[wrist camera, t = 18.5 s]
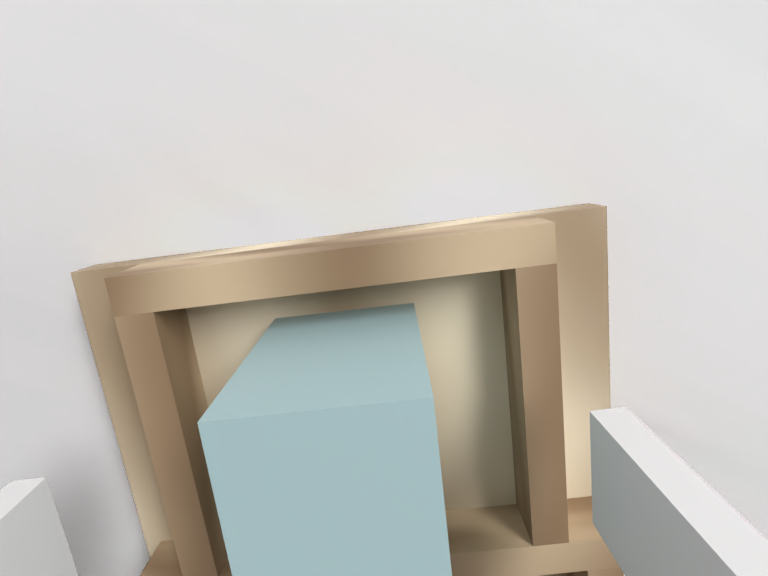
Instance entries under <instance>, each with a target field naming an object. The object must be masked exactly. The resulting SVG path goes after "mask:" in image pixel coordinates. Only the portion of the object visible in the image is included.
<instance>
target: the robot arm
mask: <svg viewBox="0 0 768 576" xmlns="http://www.w3.org/2000/svg"><path fill="white" fill-rule="evenodd" d="M590 446H591V482H592V518H593V524H594V526H595V528H596V529H597V531H598V532H599V534H600V536H601V537H602V539H603V541H604V542H605V544H606V545H607V547H608V549H609V550H610V552H611V553H612V555H613V557H614V558H615V560H616V562H617V563H618V565H619V566H620V568H621V570H622V571H623V573H624V575H625V576H768V540H767V539H766V538H765V537H764V536H763V535H762V534H761V533H760V532H759V531H758V530H757V529H756V528H755V527H753V526H752V525H751V524H750V523H749V522H748V521H747V520H746V519H745V518H744V517H743V516H742V515H741V514H740V513H739V512H738V511H736V510H735V509H734V508H733V507H732V506H731V505H730V504H729V503H728V502H727V501H726V500H725V499H724V498H723V497H722V496H721V495H719V494H718V493H717V492H716V491H715V490H714V489H713V488H712V487H711V486H710V485H709V484H708V483H707V482H706V481H705V480H704V479H702V478H701V477H700V476H699V475H698V474H697V473H696V472H695V471H694V470H693V469H692V468H691V467H690V466H689V465H688V464H687V463H685V462H684V461H683V460H682V459H681V458H680V457H679V456H678V455H677V454H676V453H675V452H674V451H673V450H672V449H671V448H670V447H668V446H667V445H666V444H665V443H664V442H663V441H662V440H661V439H660V438H659V437H658V436H657V435H656V434H655V433H654V432H653V431H651V430H650V429H649V428H648V427H647V426H646V425H645V424H644V423H643V422H642V421H641V420H640V419H639V418H638V417H637V416H635V415H634V414H633V413H632V412H631V411H630V410H629V409H628V408H627V407H618V408H610V409H601V410H593V411H590ZM0 576H78V573H77V569H76V566H75V563H74V560H73V557H72V554H71V551H70V548H69V545H68V542H67V539H66V536H65V533H64V530H63V526H62V523H61V520H60V517H59V514H58V511H57V508H56V505H55V502H54V499H53V496H52V493H51V490H50V487H49V483H48V480H47V477H42V478H34V479H26V480H17V481H11V482H10V483H8V484H7V485H6V486H5V487H4V488H2V489H1V490H0Z"/></svg>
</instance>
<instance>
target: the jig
mask: <svg viewBox="0 0 768 576" xmlns="http://www.w3.org/2000/svg"><path fill="white" fill-rule="evenodd" d="M71 276H72V280H73V283H74V287H75V291H76V294H77V298H78V301H79V305H80V309H81V312H82V316H83V319H84V323H85V326H86V330H87V334H88V337H89V341H90V344H91V348H92V352H93V355H94V359H95V362H96V366H97V369H98V373H99V377H100V380H101V384H102V387H103V391H104V395H105V398H106V402H107V405H108V409H109V412H110V416H111V420H112V423H113V427H114V430H115V434H116V438H117V441H118V445H119V448H120V452H121V455H122V459H123V463H124V466H125V470H126V473H127V477H128V481H129V484H130V488H131V491H132V495H133V498H134V502H135V506H136V509H137V513H138V516H139V520H140V524H141V527H142V531H143V534H144V538H145V541H146V545H147V549H148V552H149V556H150V560H149V562H148V563H147V565H146V567H145V568H144V570H143V572H142V573H141V575H140V576H232V573H231V569H230V564H229V560H228V555H227V551H226V547H225V542H224V538H223V533H222V529H221V525H220V520H219V516H218V512H217V507H216V503H215V498H214V494H213V490H212V485H211V481H210V476H209V472H208V468H207V463H206V459H205V454H204V450H203V446H202V441H201V437H200V433H199V428H198V424H197V422H198V421H199V420H200V418H201V417H202V416H203V414H204V413H205V412H206V410H207V409H208V408H209V406H210V405H211V404H212V402H213V401H214V400H215V398H216V397H217V396H218V394H219V393H220V392H221V390H222V389H223V388H224V386H225V385H226V384H227V382H228V381H229V380H230V378H231V377H232V376H233V374H234V373H235V371H236V370H237V369H238V367H239V366H240V365H241V363H242V362H243V361H244V359H245V358H246V357H247V355H248V354H249V353H250V351H251V350H252V349H253V347H254V346H255V345H256V343H257V342H258V341H259V339H260V338H261V337H262V335H263V334H264V333H265V331H266V330H267V329H268V327H269V326H270V325H271V323H272V322H273V321H274V319H275V318H282V317H291V316H300V315H309V314H318V313H327V312H335V311H344V310H353V309H362V308H371V307H380V306H388V305H397V304H406V303H414V306H415V311H416V316H417V321H418V325H419V330H420V335H421V340H422V344H423V349H424V354H425V359H426V363H427V368H428V373H429V378H430V382H431V387H432V392H433V397H434V406H435V415H436V425H437V435H438V444H439V454H440V464H441V474H442V483H443V493H444V503H445V512H446V522H447V532H448V541H449V551H450V561H451V571H452V576H624V575H623V571H622V570H621V568H620V566H619V565H618V563H617V562H616V560H615V558H614V557H613V555H612V553H611V552H610V550H609V549H608V547H607V545H606V544H605V542H604V541H603V539H602V537H601V536H600V534H599V532H598V531H597V529H596V528H595V526H594V524H593V518H592V482H591V446H590V411H593V410H601V409H610V358H609V305H608V253H607V206H601V205H595V204H581V205H573V206H565V207H557V208H549V209H541V210H533V211H525V212H517V213H508V214H500V215H492V216H484V217H476V218H468V219H460V220H452V221H444V222H436V223H428V224H420V225H412V226H404V227H396V228H388V229H380V230H372V231H364V232H356V233H348V234H340V235H332V236H324V237H316V238H308V239H299V240H291V241H283V242H275V243H267V244H259V245H251V246H243V247H235V248H227V249H219V250H211V251H203V252H195V253H187V254H179V255H171V256H163V257H155V258H147V259H139V260H131V261H123V262H115V263H107V264H99V265H93V266H90V267H87V268H84V269H81V270H78V271H75V272H72V273H71Z"/></svg>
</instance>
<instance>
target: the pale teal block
mask: <svg viewBox="0 0 768 576" xmlns="http://www.w3.org/2000/svg"><path fill="white" fill-rule="evenodd" d="M197 424H198V428H199V433H200V437H201V441H202V446H203V450H204V454H205V459H206V463H207V468H208V472H209V476H210V481H211V485H212V490H213V494H214V498H215V503H216V507H217V512H218V516H219V520H220V525H221V529H222V533H223V538H224V542H225V547H226V551H227V555H228V560H229V564H230V569H231V573H232V576H452V571H451V561H450V551H449V541H448V532H447V522H446V512H445V503H444V493H443V483H442V474H441V464H440V454H439V444H438V435H437V425H436V415H435V406H434V397H433V392H432V387H431V382H430V378H429V373H428V368H427V363H426V359H425V354H424V349H423V344H422V340H421V335H420V330H419V325H418V321H417V316H416V311H415V306H414V303H406V304H397V305H388V306H380V307H371V308H362V309H353V310H344V311H335V312H327V313H318V314H309V315H300V316H291V317H282V318H275V319H274V321H273V322H272V323H271V325H270V326H269V327H268V329H267V330H266V331H265V333H264V334H263V335H262V337H261V338H260V339H259V341H258V342H257V343H256V345H255V346H254V347H253V349H252V350H251V351H250V353H249V354H248V355H247V357H246V358H245V359H244V361H243V362H242V363H241V365H240V366H239V367H238V369H237V370H236V371H235V373H234V374H233V376H232V377H231V378H230V380H229V381H228V382H227V384H226V385H225V386H224V388H223V389H222V390H221V392H220V393H219V394H218V396H217V397H216V398H215V400H214V401H213V402H212V404H211V405H210V406H209V408H208V409H207V410H206V412H205V413H204V414H203V416H202V417H201V418H200V420H199V421H198V422H197Z"/></svg>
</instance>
